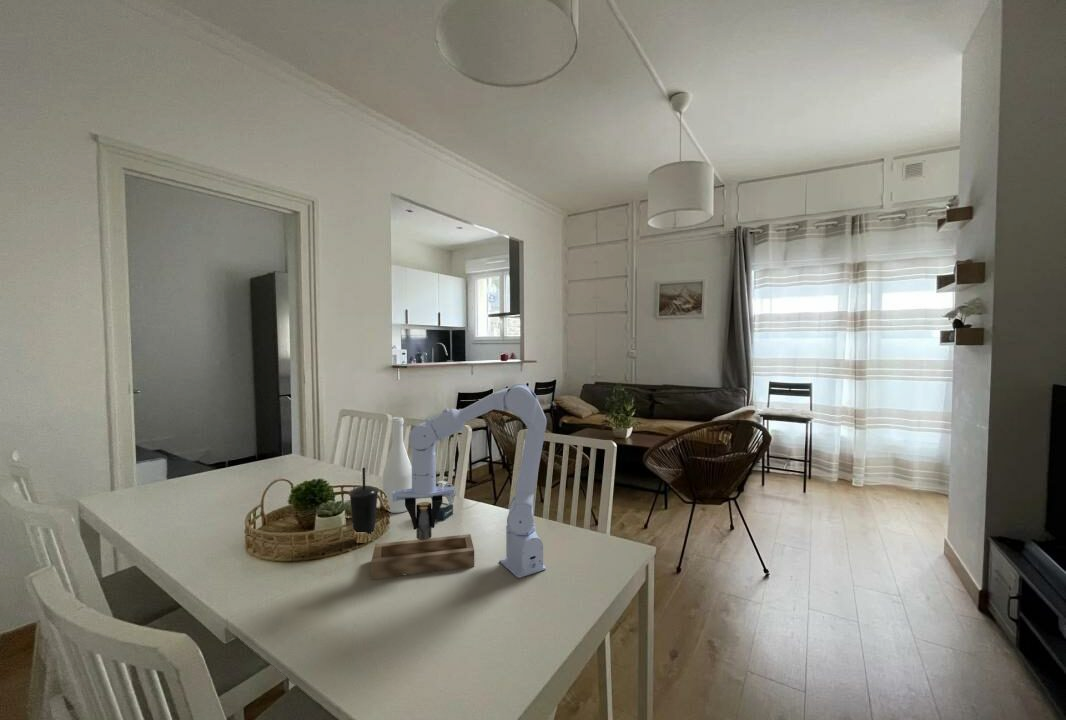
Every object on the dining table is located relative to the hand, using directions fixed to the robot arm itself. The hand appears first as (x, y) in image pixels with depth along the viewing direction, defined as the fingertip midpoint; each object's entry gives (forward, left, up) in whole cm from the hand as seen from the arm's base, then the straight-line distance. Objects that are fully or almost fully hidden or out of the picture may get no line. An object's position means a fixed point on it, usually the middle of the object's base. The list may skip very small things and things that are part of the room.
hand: (424, 527), depth 105 cm
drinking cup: (+21, +10, -9) cm, 25 cm away
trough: (0, 0, -9) cm, 9 cm away
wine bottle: (+39, -4, -9) cm, 40 cm away
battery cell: (0, 0, -2) cm, 3 cm away
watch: (+25, -14, -9) cm, 30 cm away
